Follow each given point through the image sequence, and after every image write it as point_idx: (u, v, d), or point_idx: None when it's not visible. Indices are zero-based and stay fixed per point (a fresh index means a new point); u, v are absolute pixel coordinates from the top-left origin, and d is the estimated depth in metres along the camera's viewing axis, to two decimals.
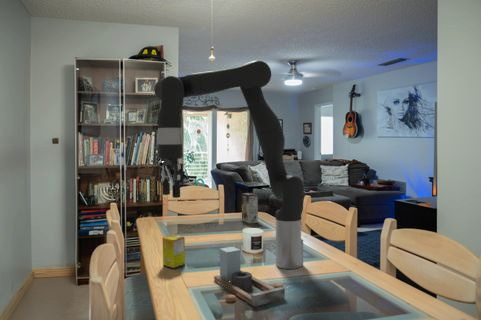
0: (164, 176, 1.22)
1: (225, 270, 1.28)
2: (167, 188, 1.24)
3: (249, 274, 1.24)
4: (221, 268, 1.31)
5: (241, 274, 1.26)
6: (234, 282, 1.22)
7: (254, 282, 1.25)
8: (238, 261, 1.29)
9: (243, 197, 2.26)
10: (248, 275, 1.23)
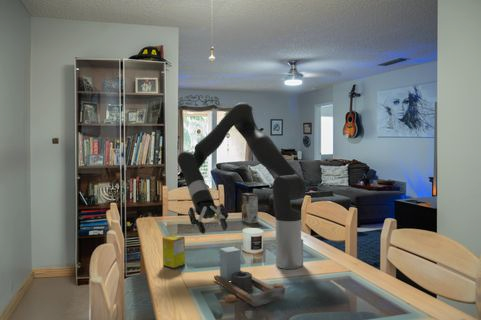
0: None
1: (225, 270, 1.28)
2: None
3: (249, 274, 1.24)
4: (221, 268, 1.31)
5: (241, 274, 1.26)
6: (234, 282, 1.22)
7: (254, 282, 1.25)
8: (238, 261, 1.29)
9: (243, 197, 2.26)
10: (248, 275, 1.23)
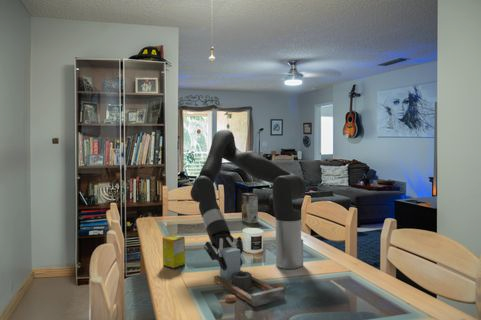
0: None
1: (225, 270, 1.28)
2: None
3: (249, 274, 1.24)
4: None
5: (241, 274, 1.26)
6: (234, 282, 1.22)
7: (254, 282, 1.25)
8: (238, 261, 1.29)
9: (243, 197, 2.26)
10: (248, 275, 1.23)
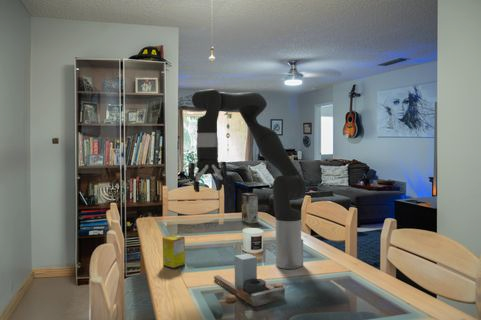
0: None
1: (240, 279, 1.20)
2: None
3: (263, 281, 1.18)
4: (236, 276, 1.22)
5: (254, 281, 1.19)
6: (247, 290, 1.16)
7: None
8: (254, 269, 1.21)
9: (243, 197, 2.26)
10: (262, 283, 1.17)
